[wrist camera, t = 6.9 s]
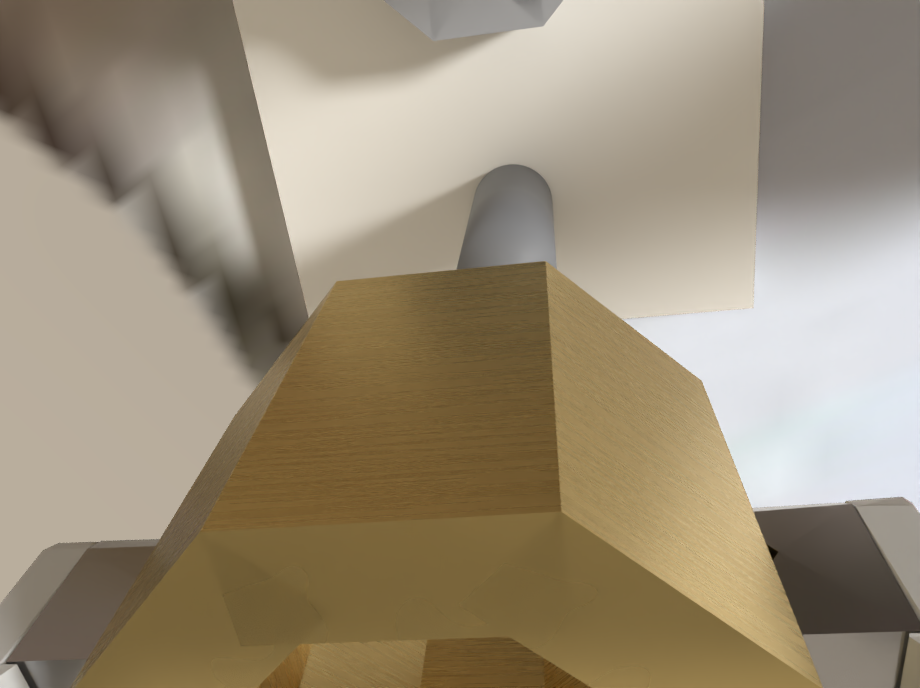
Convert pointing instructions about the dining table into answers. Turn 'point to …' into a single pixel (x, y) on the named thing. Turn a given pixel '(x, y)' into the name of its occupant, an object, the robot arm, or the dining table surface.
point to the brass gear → (462, 512)
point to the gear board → (517, 141)
